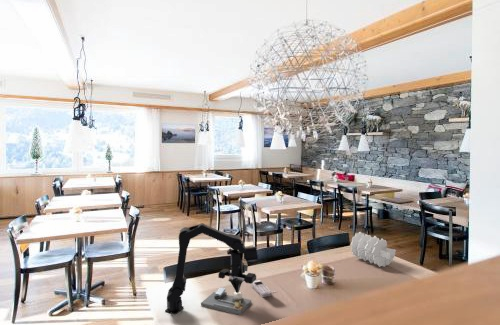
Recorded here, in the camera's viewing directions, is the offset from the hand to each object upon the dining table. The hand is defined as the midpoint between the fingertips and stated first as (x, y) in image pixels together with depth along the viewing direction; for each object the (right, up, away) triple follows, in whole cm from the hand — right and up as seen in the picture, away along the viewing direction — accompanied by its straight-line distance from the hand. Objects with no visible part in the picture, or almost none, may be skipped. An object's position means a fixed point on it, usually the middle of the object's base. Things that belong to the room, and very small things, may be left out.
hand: (237, 292), depth 153 cm
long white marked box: (+13, -5, +11) cm, 18 cm away
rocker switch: (-9, -1, +4) cm, 10 cm away
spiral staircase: (+87, -1, +49) cm, 100 cm away
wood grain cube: (0, -4, -6) cm, 8 cm away
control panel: (-6, -6, 0) cm, 8 cm away
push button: (0, -3, 0) cm, 3 cm away
